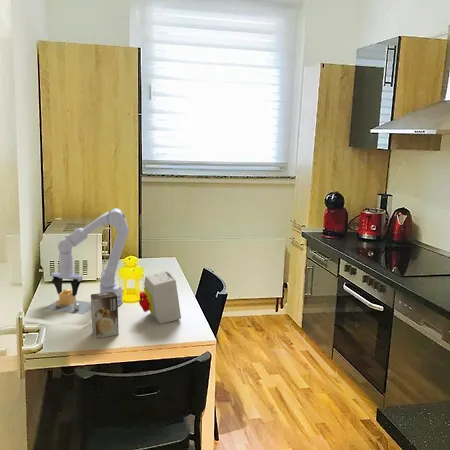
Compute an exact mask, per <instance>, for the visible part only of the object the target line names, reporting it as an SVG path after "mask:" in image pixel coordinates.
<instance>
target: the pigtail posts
mask: <svg viewBox="0 0 450 450" xmlns="http://www.w3.org/2000/svg"><path fill="white" fill-rule="evenodd" d="M55 302H56V309H60V308H61V301H58V300H56V301H55ZM74 311H79V303H75V304H74Z"/></svg>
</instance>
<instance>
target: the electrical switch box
mask: <svg viewBox="0 0 450 450" xmlns="http://www.w3.org/2000/svg"><path fill="white" fill-rule="evenodd" d="M143 286H144V287H143V291H142V292H139V300H138V303H139V306H140V307H141V308H142V311H143V312H144V313H147V312H150V313H151V315H152V316H153V317H154V318H155V320H156V321H157V322H158V323H159V324H160V325H162V324H166V323H170V322H174V321H177V320H181V319H182V314H181V308H180V307H181V306H180V301H179V294H178V293H179V292H178V286H177V280H176V278H175V277H174V276H173V274H172V273H171V271H167V270H164V271H159V272H155V273H151V274H148V275H145V277H144V282H143Z"/></svg>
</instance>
